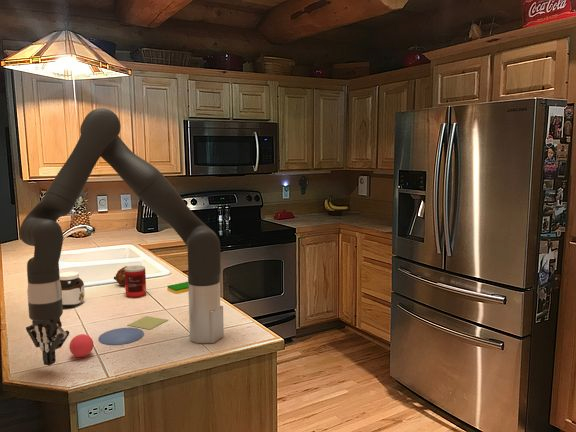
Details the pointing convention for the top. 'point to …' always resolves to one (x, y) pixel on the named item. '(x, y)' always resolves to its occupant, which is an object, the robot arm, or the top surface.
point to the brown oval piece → (120, 276)
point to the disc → (121, 336)
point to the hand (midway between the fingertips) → (49, 364)
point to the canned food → (135, 281)
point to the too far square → (147, 322)
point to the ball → (81, 345)
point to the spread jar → (71, 289)
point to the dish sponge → (178, 288)
